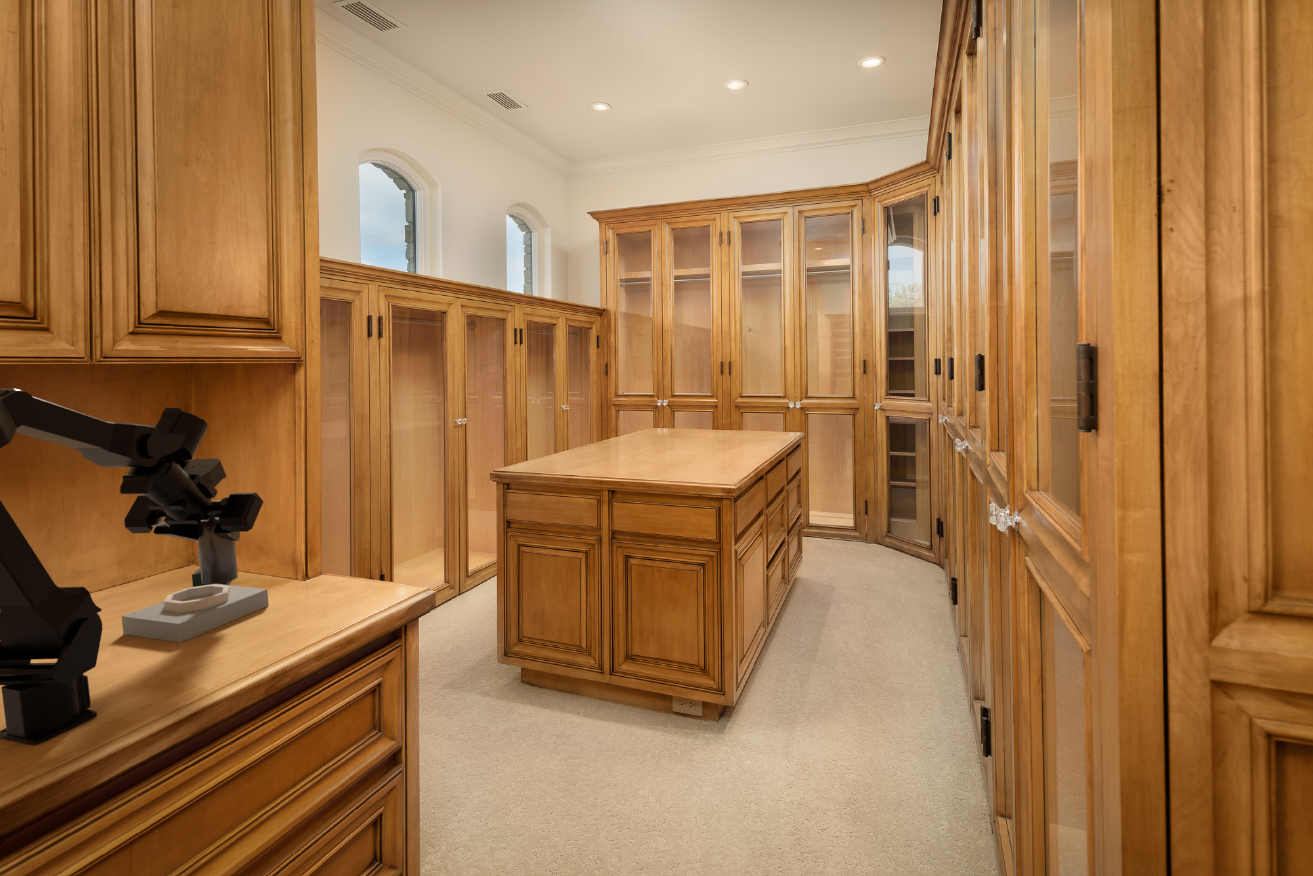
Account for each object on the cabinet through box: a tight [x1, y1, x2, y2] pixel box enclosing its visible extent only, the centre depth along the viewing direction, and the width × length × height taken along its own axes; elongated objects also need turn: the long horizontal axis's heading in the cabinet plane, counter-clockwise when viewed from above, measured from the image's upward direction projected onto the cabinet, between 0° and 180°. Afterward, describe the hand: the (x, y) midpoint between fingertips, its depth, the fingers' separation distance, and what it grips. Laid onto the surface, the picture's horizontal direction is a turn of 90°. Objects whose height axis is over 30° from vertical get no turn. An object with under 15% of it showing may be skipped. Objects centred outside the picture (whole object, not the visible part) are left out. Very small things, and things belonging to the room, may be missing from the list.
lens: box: [197, 499, 239, 584], centre depth 106 cm, size 5×5×13 cm
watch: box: [191, 540, 232, 587], centre depth 124 cm, size 6×8×11 cm
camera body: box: [121, 584, 270, 643], centre depth 108 cm, size 16×12×4 cm
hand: (221, 538), depth 107 cm, fingers closed on lens, 5 cm apart
